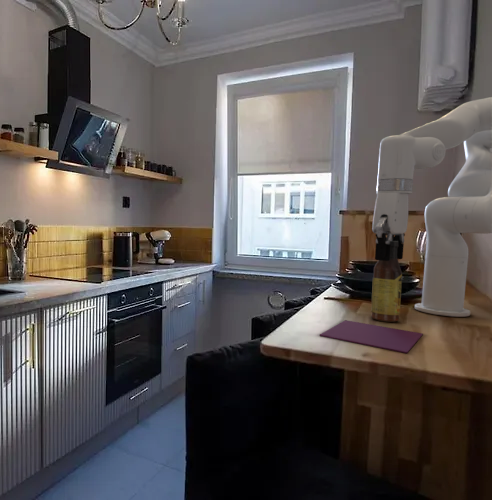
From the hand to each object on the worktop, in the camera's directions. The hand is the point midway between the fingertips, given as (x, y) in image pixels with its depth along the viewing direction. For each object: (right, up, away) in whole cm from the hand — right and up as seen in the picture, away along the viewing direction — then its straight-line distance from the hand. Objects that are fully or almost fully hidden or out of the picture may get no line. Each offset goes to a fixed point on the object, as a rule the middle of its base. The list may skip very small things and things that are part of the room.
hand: (388, 259), depth 105 cm
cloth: (-11, -16, -13) cm, 24 cm away
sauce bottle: (0, -15, +1) cm, 15 cm away
